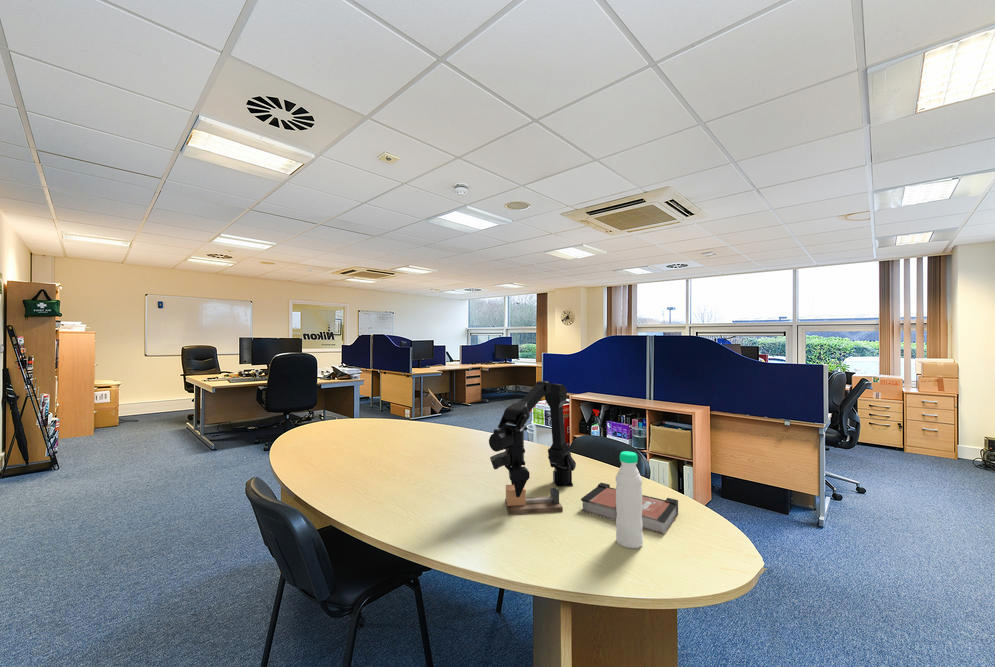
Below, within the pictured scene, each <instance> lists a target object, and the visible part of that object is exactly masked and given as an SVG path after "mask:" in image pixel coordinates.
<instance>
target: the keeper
mask: <svg viewBox="0 0 995 667" xmlns="http://www.w3.org/2000/svg"><path fill="white" fill-rule="evenodd" d="M526 498H527V497H526V487H525V486H524V488H523V490H522V493H521V495H520V497H516V493H515V488H514V485H512V484H505V499H506V502H507V506H517V505H525V502H526Z"/></svg>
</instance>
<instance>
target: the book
mask: <svg viewBox="0 0 995 667" xmlns="http://www.w3.org/2000/svg"><path fill="white" fill-rule="evenodd" d="M580 501H581V502H582V509H580V512H583V511H584V512H583V513H586V512H587V514H590V513H591V515H593V514H594V515H593V516H597V515H598V516H597V517H600V516H601V518H604V517H605V519H608V520H612V521H614V522H616V516H617V512H616V487H615V488H614V487H611V485H610V484H609V483H605V482H599V483H598V484H597V485H596V487H595V488H593V489H592V490H590V491H589V492H588V493H586V494H585V495H584V496H582V497H581V498H580ZM678 516H679V500H678V499H675V498H670V497H667V498H666V499H661V498H657V497H653V496H648V495H644V494H642V523H643V527H642V530H643V529H644V530H647V531H650V532H654V533H658V534H660V535H666V534H667V532H668V530H670V527H671V525H672V524H673V523H674V521H675V520H676V518H677V517H678Z"/></svg>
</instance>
